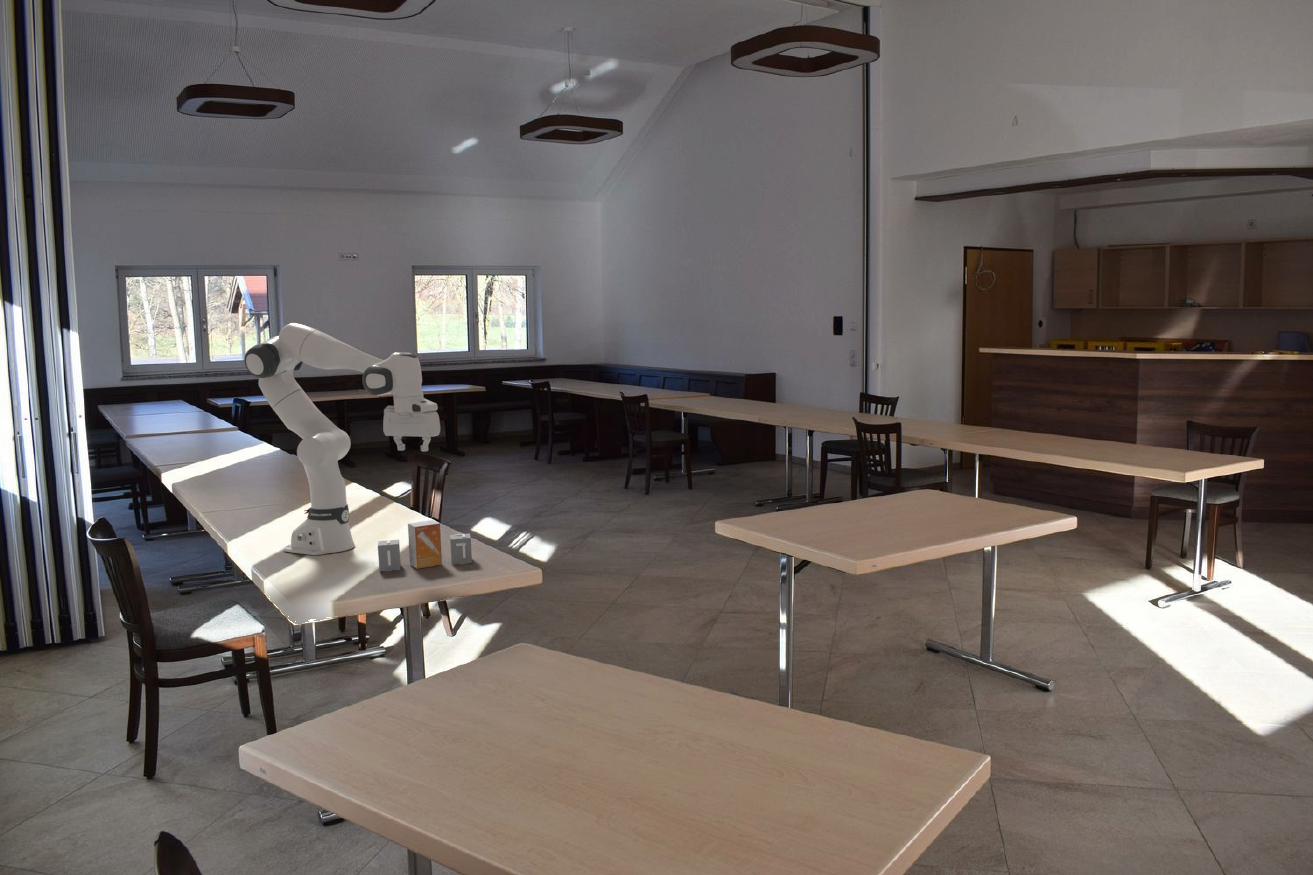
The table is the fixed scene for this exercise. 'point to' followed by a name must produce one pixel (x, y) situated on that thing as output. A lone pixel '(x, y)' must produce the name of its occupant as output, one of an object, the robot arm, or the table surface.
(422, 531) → the small box
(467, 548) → the numbered block seven
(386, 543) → the numbered block one
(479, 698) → the table surface
